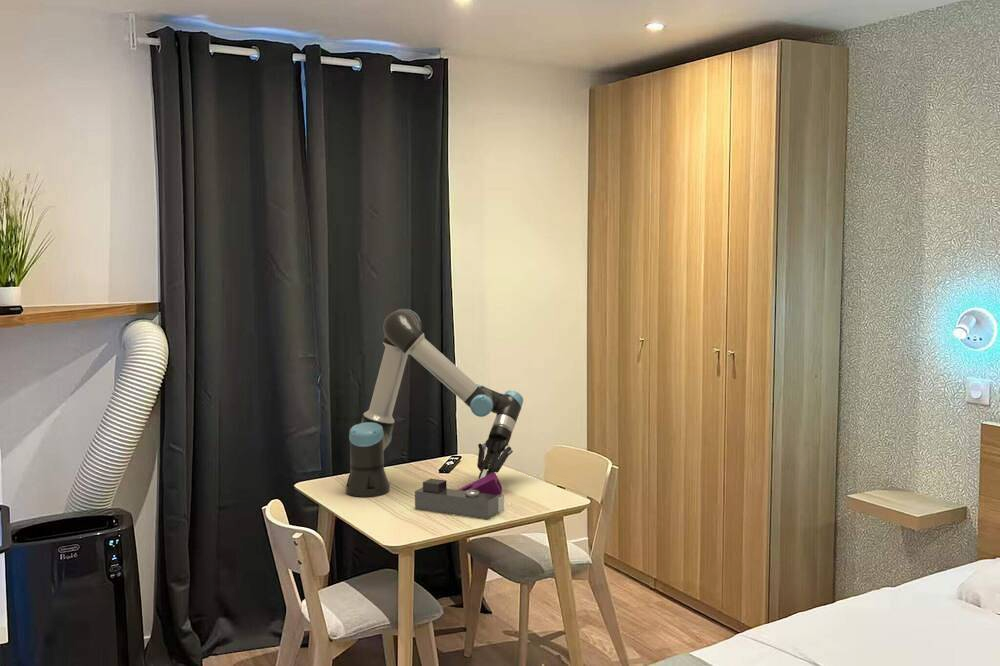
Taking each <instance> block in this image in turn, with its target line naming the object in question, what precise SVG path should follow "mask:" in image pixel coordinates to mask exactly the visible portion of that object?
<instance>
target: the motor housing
mask: <svg viewBox="0 0 1000 666" xmlns="http://www.w3.org/2000/svg"><path fill="white" fill-rule="evenodd" d="M447 485H448V484H447V480H445V479H437V478H428V479H427V480H424V481H423V482H422V487H421V488H418V489H416V490H415V491H414V509H415V510H421V511H427V512H432V513H433V512H434V513H439V512H441V513H440V514H446V513H448V515H453V514H455V516H460V515H461V516H462V515H463V516H462V517H467V516H469V517H468V518H474V517H476V518H475V519H481V518H483V519H482V520H488V519H489V520H490V519H492V518H493V516H494V517H495V516H497V515H498V513H499V512H500V513H502V512H504V511H505V495H504V494H502V495H499V494H498V495H493V494H485V493H479V491H478V490H467V491H462V490H458V489H453V488H447ZM501 511H502V512H501ZM500 513H499V514H500ZM496 514H497V515H496ZM491 517H492V518H491Z"/></svg>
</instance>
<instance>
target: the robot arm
mask: <svg viewBox="0 0 1000 666" xmlns="http://www.w3.org/2000/svg"><path fill="white" fill-rule="evenodd" d="M382 330H383V334H384V335H383V339H382V344H383V345H384V347H385V348H384V352H383V355H382V359H381V362H380V366H379V370H378V375H377V378H376V381H375V385H374V389H373V394H372V398H371V401H370V404H369V408H368V410H366V411H365V412H364V413H363V415H362V419H361V422H360V423H357V424H354V425H353V426H352V427H350V428H349V434H348V440H349V458H350V459H349V460H350V461H349V464H350V465H349V466H350V471H349V474H348V478H347V482H346V484H345V493H346V495H348V494H349V495H348V496H351V495H353V496H352V497H356V496H360V497H359V498H370V497H369V496H372V497H377V496H378V495H379V496H381V495H386V494H387V493H389V492H390V482H389V481H388V479H389V478H388V477H387V473H386V471H385V460H384V459H385V458H384V451H385V450H386V449H387V447H388V446H389V445H390V443H391V442H392V437H393V430H394V425H395V419H394V417H393V414H394V413H393V412H394V409H395V405H396V402H397V398H398V395H399V390H400V388H401V387H400V386H401V382H402V379H403V375H404V371H405V368H406V363H407V361H408V357H409V356H408V355H410V356H411V357H413V358H414V360H416V361H417V362H418V363H419V364H420V365H421V366H422V367H424V369H426V370H427V371H429V373H430V374H432V375H433V376H434V377H435V378H436V379H437V380H438V381H439V382H440V383H442V384H443V385H444V386H445V387H446V388H447V389H449V391H450V392H452V393H453V394H454V395H455V396H456V397H458V399H460V400H461V401H462V402H463V403H465V405H466V406H467V407H469V409H470V410H471V413H473V415H474V416H477V417H479V418H482V417H483V418H484V417H487V416H488V415H489V414H490V413H493V414H496V415H495V418H494V421H493V423H492V425H491V429H490V430H489V431H490V432H489V435H488V437H487V439H486V441H485V443H478V445H477V446H478V457H477V464H476V465H477V469H478V470H479V471H480V472H479V475H478V480H479V479H481V478H483V477H485V476H487V475H489V474H491V473H493V472H495V473H496V474H497V473H499V471H500V470H501V469H502V466H503V465H504V464H505V462H506V460H508V457H509V456H510V455H511V454H512V453H513V451H514V450H513V449H512V448H511V446H509V443H510V440H511V437H512V434H513V431H514V430H515V429H514V428H515V426H516V423H517V420H518V418H519V415H520V413H521V411H522V406H523V404H524V398H523V396H522V394H520V393H519V392H517V391H515V390H507V391H505V392H504V393H501V392H498V391H495V390H493V389H490V388H488V387H486V386H485V385H480V384H477V383H476V382H474V381H473V380H472V379H471V378H470V377H469V376H468V375H466V374H465V373H464V372H463V371H462V370H461V369H460V368H459V367H458V366H456V365H455V363H453V362H452V361H451V360H450V359H449V358H447V357H446V356H445V355H444V354H443V353H442V352H441V351H439V350H438V349H437V348H436V346H434V345H433V344H432V343H431V342H430V341H429V340H427V339H426V337H425V333H424V332H423V331H422V321H421V319H420V317H419V315H418V314H417V313H416V312H415V311H413V310H411V309H408V308H407V309H406V308H400V309H397V310H396V311H392V312H391V313H390V314H388V315H387V316H386V318H385V319H384V322H383V326H382ZM485 451H486V452H485ZM485 453H486V454H485Z"/></svg>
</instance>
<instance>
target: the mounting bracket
mask: <svg viewBox="0 0 1000 666" xmlns="http://www.w3.org/2000/svg"><path fill="white" fill-rule="evenodd" d="M457 490H462V491H467V490H478V491H479V493H485V494H493V495H498V494H499V495H503V494H502V492H503V487H502V483H501V482H500V480H499V478H498V475H497V473H496V472H493V473H491V474H489V475H487V476H485V477H483V478H481V479H479V478H478V479H476V480H475V481H473V482H471V483H469V484H466V485H465V486H463V487H461V488H458V489H457Z"/></svg>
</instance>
